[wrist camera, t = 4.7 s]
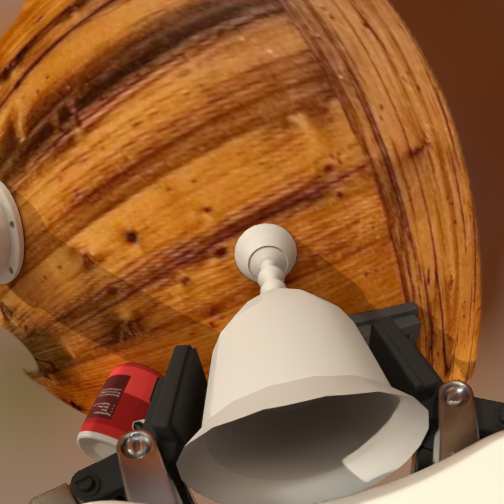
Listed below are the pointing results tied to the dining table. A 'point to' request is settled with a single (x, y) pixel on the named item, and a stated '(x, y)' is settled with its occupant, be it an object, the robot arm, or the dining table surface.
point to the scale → (400, 314)
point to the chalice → (295, 397)
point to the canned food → (118, 409)
